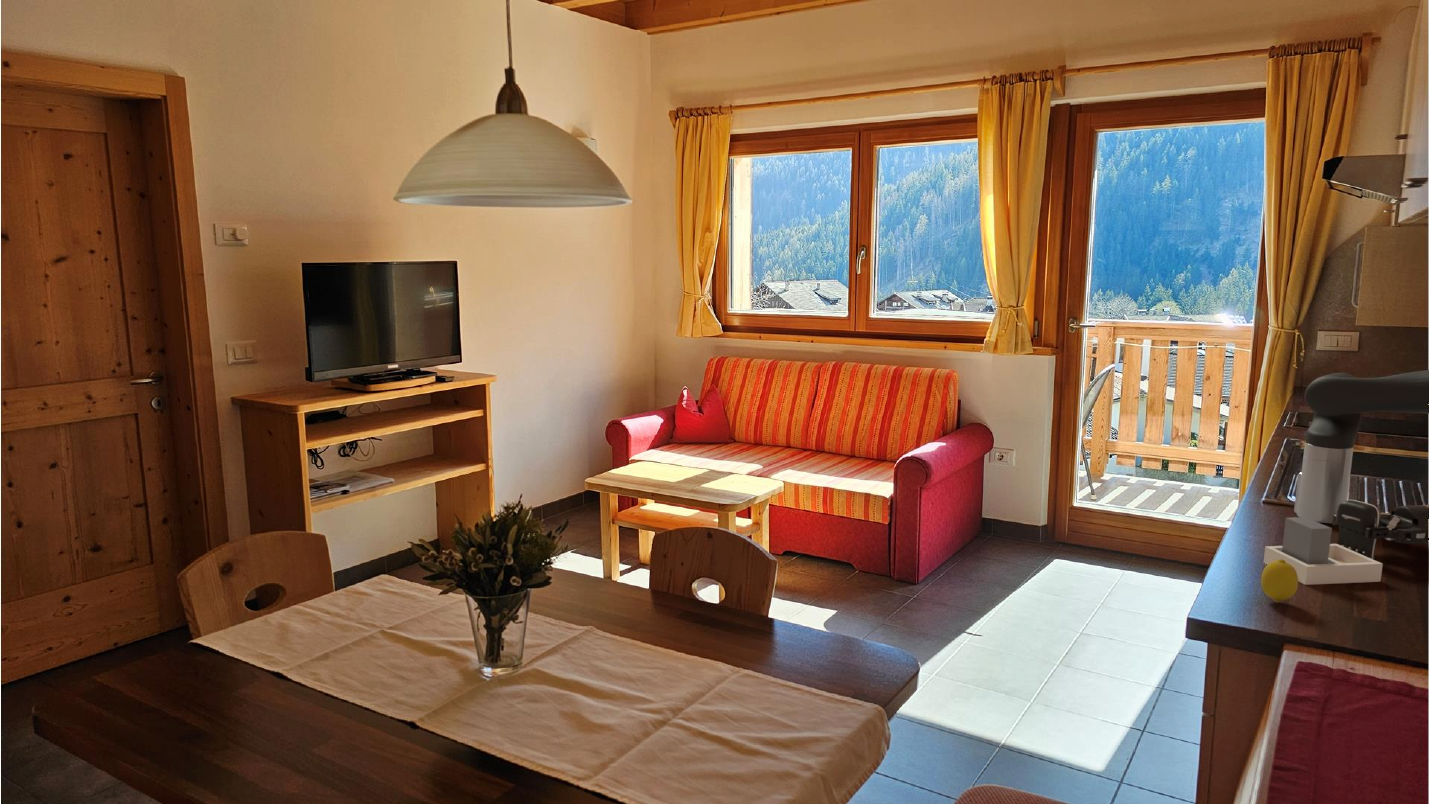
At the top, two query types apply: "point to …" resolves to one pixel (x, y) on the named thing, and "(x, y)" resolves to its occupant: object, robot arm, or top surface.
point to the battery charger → (1357, 526)
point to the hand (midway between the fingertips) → (1349, 526)
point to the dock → (1332, 568)
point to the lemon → (1279, 580)
